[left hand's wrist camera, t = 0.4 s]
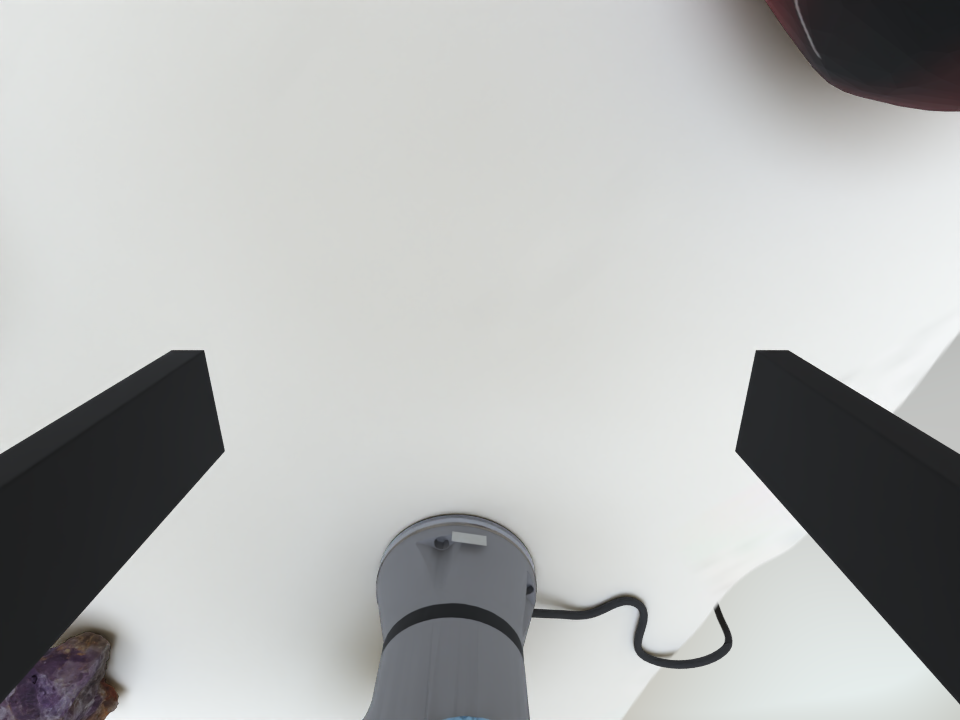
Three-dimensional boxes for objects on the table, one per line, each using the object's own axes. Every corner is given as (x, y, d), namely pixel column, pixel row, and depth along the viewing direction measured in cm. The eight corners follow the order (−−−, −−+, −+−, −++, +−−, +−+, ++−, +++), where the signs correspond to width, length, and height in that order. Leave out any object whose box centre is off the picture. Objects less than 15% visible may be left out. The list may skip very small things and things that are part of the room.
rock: (139, 628, 54) (37, 607, 53) (84, 699, 46) (-38, 676, 44) (119, 717, 56) (21, 699, 55) (63, 799, 48) (-54, 780, 47)
